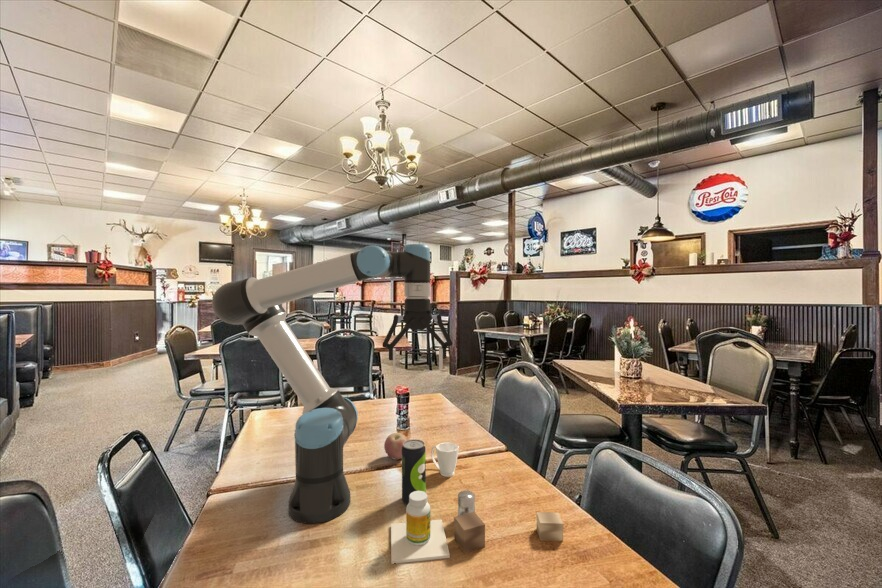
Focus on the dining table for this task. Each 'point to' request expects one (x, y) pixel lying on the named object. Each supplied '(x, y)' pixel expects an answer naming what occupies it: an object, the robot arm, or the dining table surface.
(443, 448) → the cup
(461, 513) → the cylinder
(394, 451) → the apple
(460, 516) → the walnut block
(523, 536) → the dining table surface
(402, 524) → the coaster
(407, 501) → the beverage can
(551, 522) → the oak block
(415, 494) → the supplement bottle
